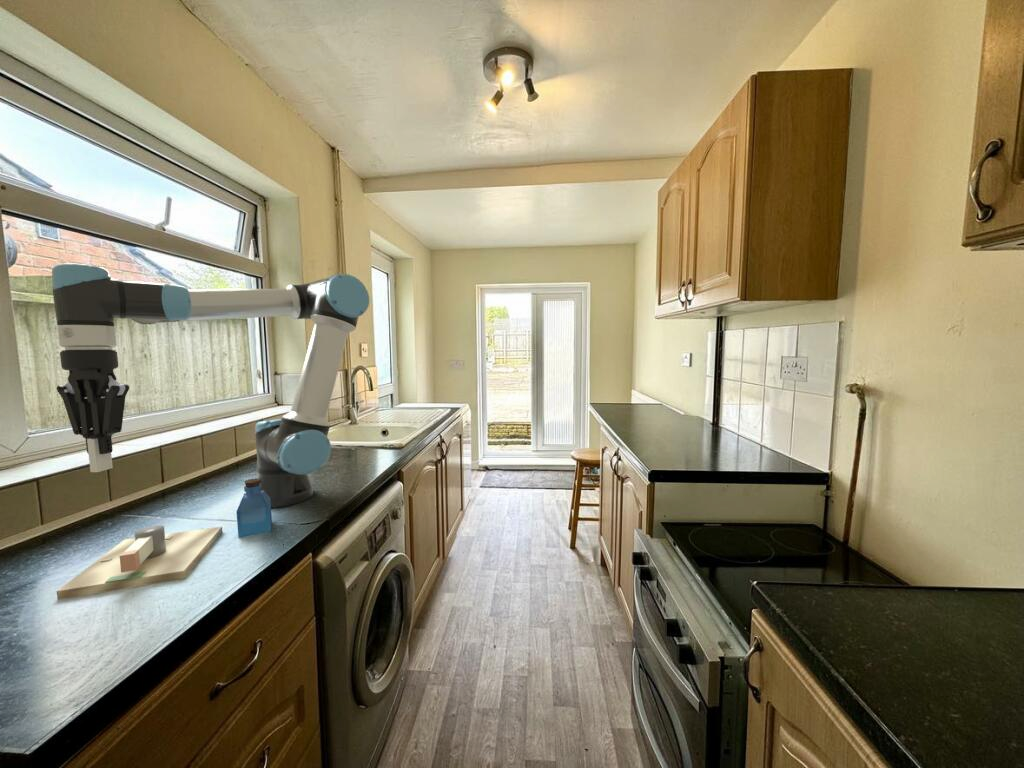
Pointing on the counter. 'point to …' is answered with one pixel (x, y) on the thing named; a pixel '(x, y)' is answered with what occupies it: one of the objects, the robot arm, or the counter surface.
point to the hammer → (143, 547)
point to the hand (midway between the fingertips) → (101, 469)
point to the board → (143, 564)
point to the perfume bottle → (254, 510)
